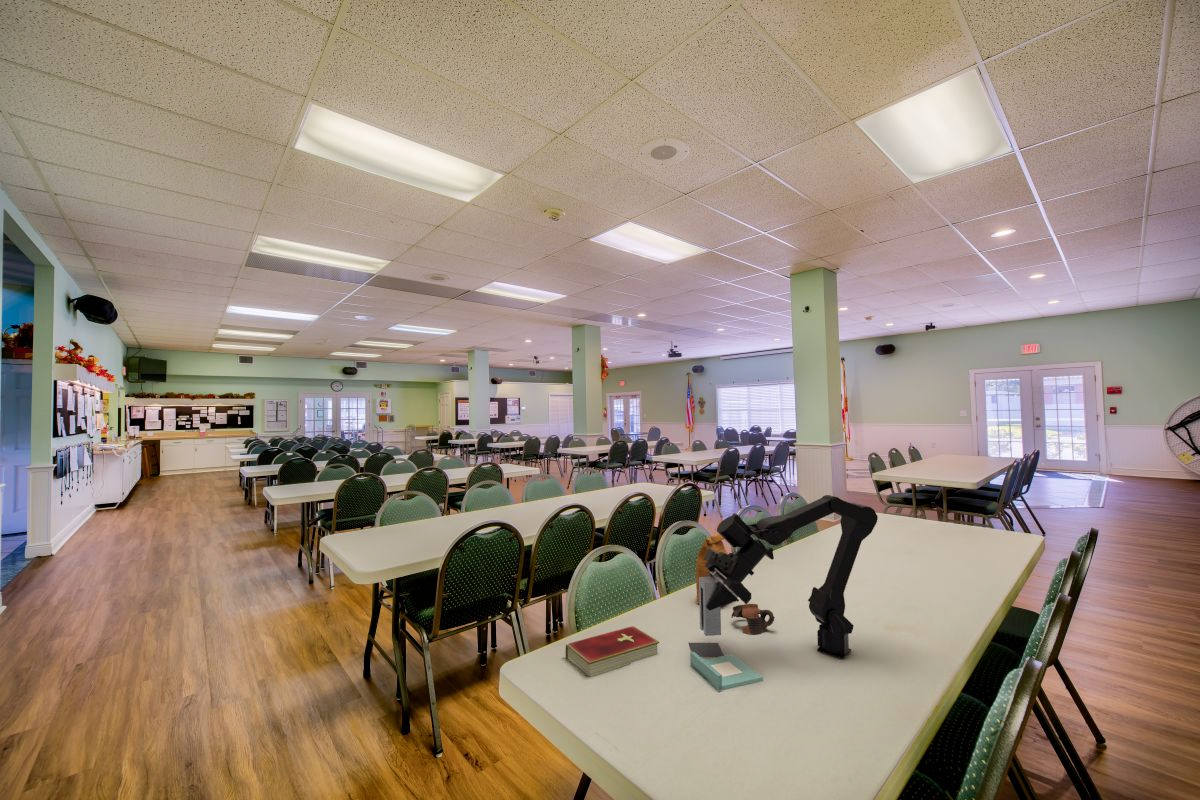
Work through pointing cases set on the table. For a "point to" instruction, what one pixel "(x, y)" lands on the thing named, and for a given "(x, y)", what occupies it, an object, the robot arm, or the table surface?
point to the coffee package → (701, 570)
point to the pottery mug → (753, 618)
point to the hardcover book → (611, 650)
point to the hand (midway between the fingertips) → (704, 605)
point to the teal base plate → (724, 671)
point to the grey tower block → (708, 619)
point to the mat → (706, 649)
